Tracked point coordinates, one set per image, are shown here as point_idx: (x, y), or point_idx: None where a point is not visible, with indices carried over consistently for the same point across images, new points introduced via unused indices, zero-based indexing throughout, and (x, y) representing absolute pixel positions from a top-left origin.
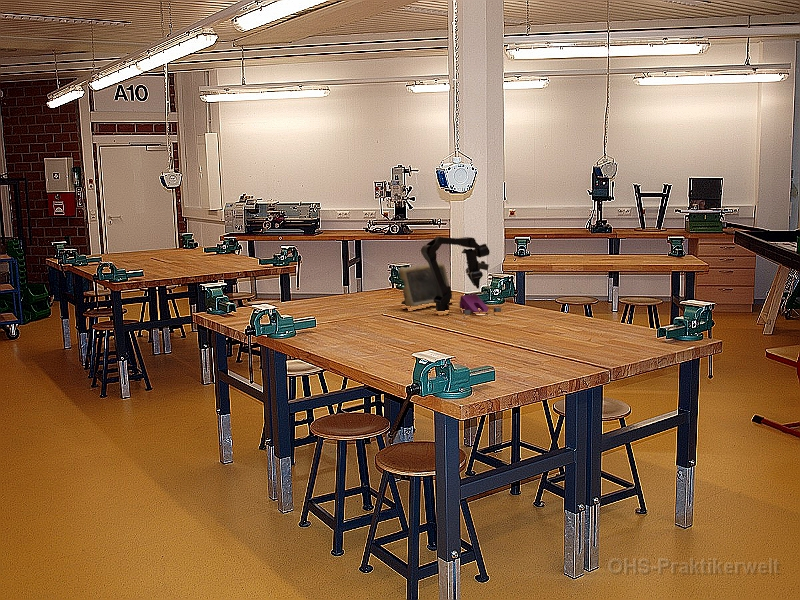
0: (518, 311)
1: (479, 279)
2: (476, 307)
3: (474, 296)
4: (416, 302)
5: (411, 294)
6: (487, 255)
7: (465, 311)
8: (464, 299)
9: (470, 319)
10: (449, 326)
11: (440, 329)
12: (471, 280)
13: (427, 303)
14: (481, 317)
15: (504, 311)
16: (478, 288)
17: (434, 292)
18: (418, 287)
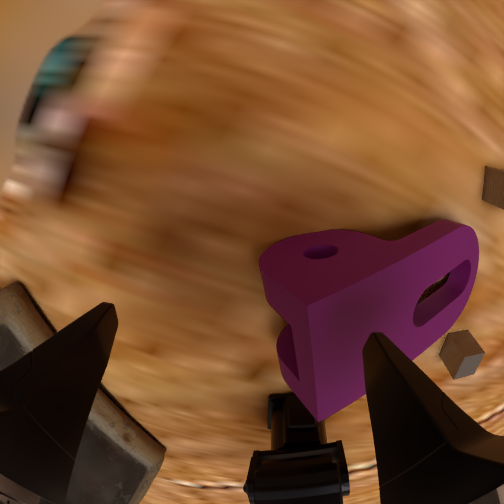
0: (451, 24)
1: (485, 436)
2: (445, 307)
3: (346, 324)
4: (139, 460)
5: (132, 493)
6: None
7: (474, 371)
8: (364, 393)
9: (483, 335)
10: (497, 398)
11: (499, 413)
12: (86, 408)
13: (111, 422)
14: (488, 283)
15: (420, 81)
16: (378, 337)
17: None
18: (89, 490)
